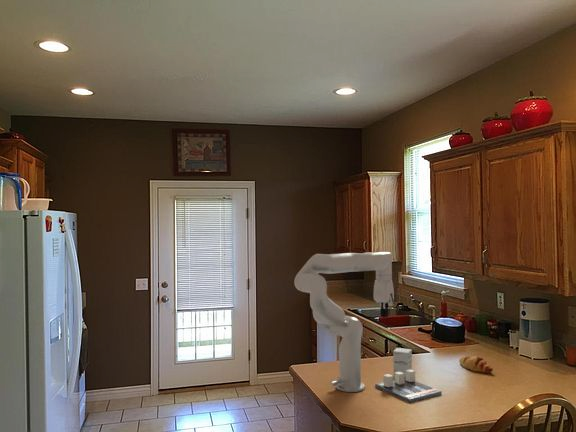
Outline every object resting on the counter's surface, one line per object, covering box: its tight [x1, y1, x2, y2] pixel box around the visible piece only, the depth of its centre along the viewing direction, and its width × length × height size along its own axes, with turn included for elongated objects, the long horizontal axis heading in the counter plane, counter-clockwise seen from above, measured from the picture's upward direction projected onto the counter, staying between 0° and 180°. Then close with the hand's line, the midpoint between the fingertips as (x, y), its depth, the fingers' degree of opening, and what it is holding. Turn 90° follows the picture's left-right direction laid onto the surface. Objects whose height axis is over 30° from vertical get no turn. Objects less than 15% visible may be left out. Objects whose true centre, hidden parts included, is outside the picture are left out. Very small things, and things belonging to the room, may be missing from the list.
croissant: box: [459, 355, 494, 374], centre depth 238 cm, size 21×10×8 cm, turn 25°
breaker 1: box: [382, 373, 394, 387], centre depth 209 cm, size 3×3×4 cm
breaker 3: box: [406, 369, 416, 382], centre depth 215 cm, size 3×3×4 cm
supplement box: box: [392, 347, 413, 378], centre depth 227 cm, size 7×7×13 cm
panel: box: [374, 377, 442, 404], centre depth 208 cm, size 18×22×2 cm
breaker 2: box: [394, 372, 404, 385], centre depth 212 cm, size 3×3×4 cm
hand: (384, 316), depth 225 cm, fingers closed
